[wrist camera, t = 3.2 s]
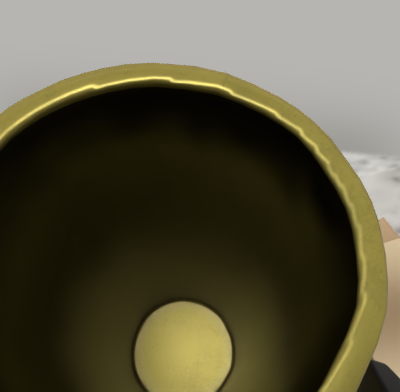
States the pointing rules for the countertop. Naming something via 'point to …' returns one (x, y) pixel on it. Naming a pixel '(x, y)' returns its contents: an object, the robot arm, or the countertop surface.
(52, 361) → the vase
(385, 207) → the countertop surface
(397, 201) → the countertop surface
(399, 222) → the countertop surface
